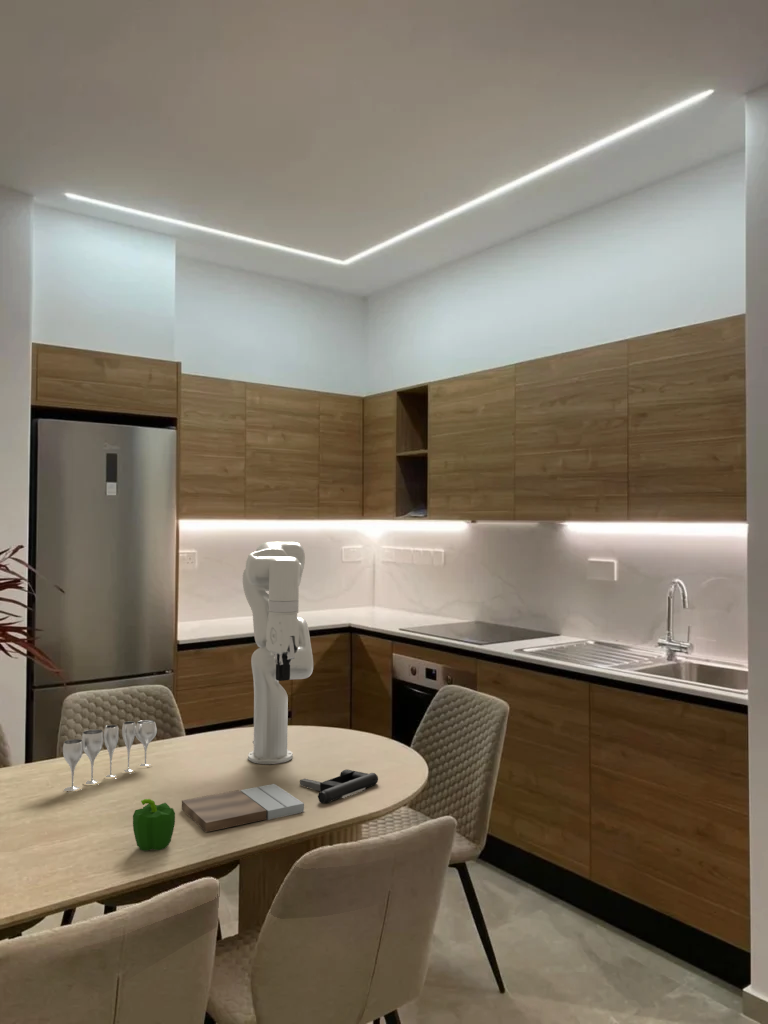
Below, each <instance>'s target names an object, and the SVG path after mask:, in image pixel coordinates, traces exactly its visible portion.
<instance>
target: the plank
mask: <svg viewBox="0 0 768 1024" xmlns="http://www.w3.org/2000/svg"><path fill="white" fill-rule="evenodd" d="M181 810H182V811H183V812H184V813H185V814H186V815H187V816H188V817H189V818H190V819H191V820H192V821H194V822H195V823H196V825H198V826H199V827H200V828H201V829H202V830H203V831H204V832H205V833H207V832H208V833H209V832H213V831H218V830H223V829H228V828H233V827H237V826H242V825H245V824H251V823H254V822H255V823H256V822H260V821H265V820H267V819H266V810H265V809H264V808H262V807H261V806H260V805H258V804H257V803H256V802H254V801H253V800H252V799H250V798H249V797H247V796H246V795H245V794H243V793H242V792H241V791H240V790H239V789H235V790H230V791H225V792H219V793H213V794H209V795H204V796H199V797H194V798H188V799H183V800H182V799H181Z"/></svg>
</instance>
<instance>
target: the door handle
mask: <svg viewBox="0 0 768 1024" xmlns="http://www.w3.org/2000/svg"><path fill="white" fill-rule="evenodd" d="M378 782H379V776H378V774H376V773H375V772H370V773H368V772H367V773H366V772H362V771H357V770H351V769H344V770H342V771H341V772H340V774H339V775H338V776H337V777H333V778H330V779H328V780H325V781H317V780H314V779H308V778H302V779H299V786H300V785H301V787H304V786H305V787H304V788H307V787H308V788H307V789H310V788H311V789H310V790H313V789H314V791H318V794H317V799H318V801H319V802H320V803H321V804H325V803H326V804H327V803H329V802H333V801H336V800H338V799H341V798H344V799H346V798H348V797H347V796H349V797H351V796H353V794H354V795H356V794H358V793H357V792H359V793H361V792H363V791H362V790H364V791H366V788H369V787H372V786H375V785H377V783H378ZM360 791H361V792H360ZM355 793H356V794H355ZM350 795H351V796H350ZM345 797H346V798H345Z"/></svg>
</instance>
